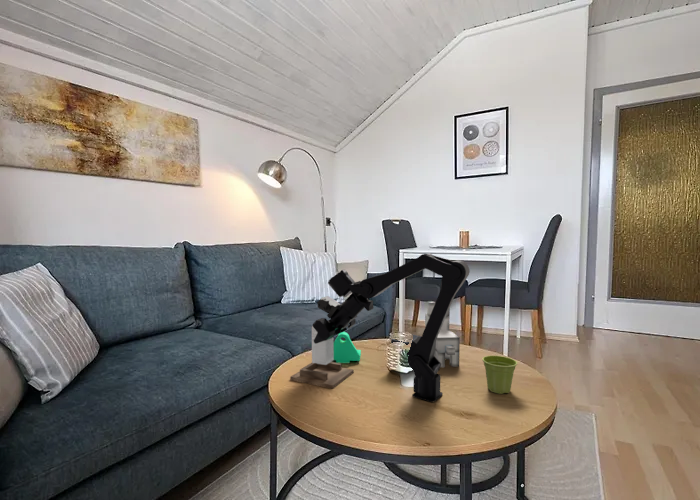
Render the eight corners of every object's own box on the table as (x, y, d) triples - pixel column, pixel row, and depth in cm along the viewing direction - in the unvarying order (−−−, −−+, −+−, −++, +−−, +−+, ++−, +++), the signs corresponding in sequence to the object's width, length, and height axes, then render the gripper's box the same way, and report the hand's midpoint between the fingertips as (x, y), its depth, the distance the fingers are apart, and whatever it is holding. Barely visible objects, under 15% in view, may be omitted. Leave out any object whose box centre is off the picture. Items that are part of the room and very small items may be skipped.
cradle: (353, 372, 125) (353, 363, 125) (333, 388, 112) (333, 378, 112) (313, 365, 131) (313, 356, 131) (290, 379, 119) (290, 370, 119)
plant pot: (485, 381, 118) (486, 353, 117) (518, 387, 113) (519, 358, 113) (478, 392, 110) (479, 362, 109) (514, 399, 105) (514, 368, 105)
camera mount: (360, 356, 141) (361, 329, 141) (359, 363, 134) (359, 334, 133) (328, 355, 142) (328, 328, 142) (325, 362, 135) (325, 333, 134)
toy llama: (440, 370, 127) (440, 310, 126) (424, 353, 145) (425, 300, 144) (462, 369, 128) (462, 309, 127) (444, 352, 145) (445, 300, 144)
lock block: (333, 360, 123) (333, 323, 122) (325, 365, 118) (325, 327, 118) (320, 357, 125) (319, 322, 124) (312, 362, 120) (311, 325, 120)
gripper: (346, 284, 127) (318, 314, 132) (318, 293, 110) (286, 327, 116) (368, 310, 124) (338, 340, 129) (342, 323, 107) (309, 356, 112)
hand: (319, 340), depth 122 cm, fingers closed on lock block, 5 cm apart
